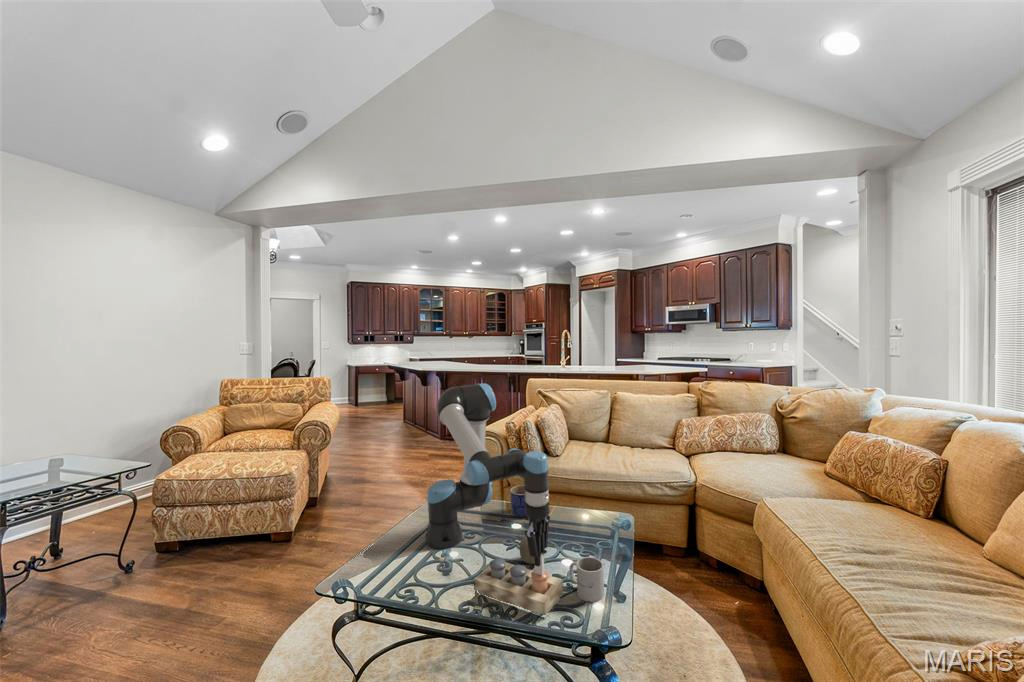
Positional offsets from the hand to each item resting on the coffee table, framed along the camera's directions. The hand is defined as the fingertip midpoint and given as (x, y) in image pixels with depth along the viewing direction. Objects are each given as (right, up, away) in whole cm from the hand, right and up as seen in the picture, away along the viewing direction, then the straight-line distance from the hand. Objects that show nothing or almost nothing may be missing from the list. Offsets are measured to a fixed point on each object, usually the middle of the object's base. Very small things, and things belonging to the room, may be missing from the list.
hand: (539, 573), depth 144 cm
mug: (+16, -9, +5) cm, 19 cm away
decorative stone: (-2, -8, +23) cm, 24 cm away
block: (-7, -9, +5) cm, 12 cm away
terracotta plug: (0, -7, +1) cm, 7 cm away
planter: (-4, -5, +62) cm, 62 cm away
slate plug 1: (-13, -8, +9) cm, 18 cm away
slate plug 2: (-7, -8, +5) cm, 11 cm away
